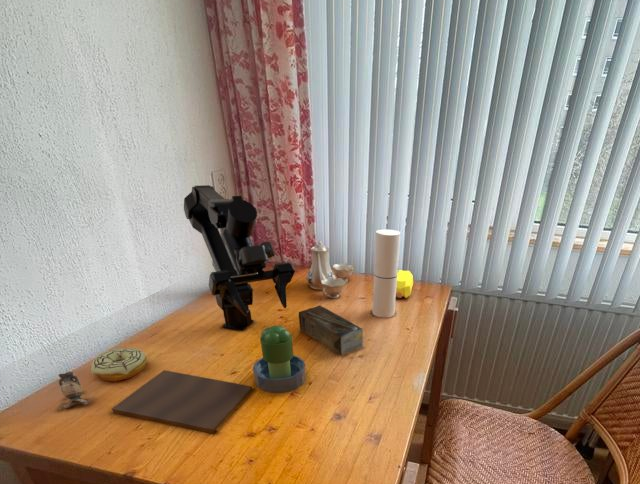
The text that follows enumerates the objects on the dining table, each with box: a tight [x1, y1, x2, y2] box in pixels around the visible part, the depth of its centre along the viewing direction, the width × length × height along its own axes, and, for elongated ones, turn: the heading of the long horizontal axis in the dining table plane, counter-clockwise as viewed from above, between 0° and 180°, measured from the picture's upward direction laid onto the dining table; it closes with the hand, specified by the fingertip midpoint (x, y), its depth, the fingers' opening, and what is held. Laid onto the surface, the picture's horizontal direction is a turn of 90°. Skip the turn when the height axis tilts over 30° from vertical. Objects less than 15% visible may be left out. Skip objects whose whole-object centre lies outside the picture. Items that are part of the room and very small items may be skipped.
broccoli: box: [260, 325, 294, 379], centre depth 85 cm, size 7×7×13 cm
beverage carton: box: [298, 305, 364, 355], centre depth 105 cm, size 8×19×7 cm, turn 45°
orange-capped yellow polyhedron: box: [396, 269, 414, 299], centre depth 139 cm, size 18×7×8 cm
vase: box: [58, 371, 90, 411], centre depth 77 cm, size 5×5×6 cm
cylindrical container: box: [371, 228, 402, 319], centre depth 117 cm, size 7×7×25 cm
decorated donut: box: [90, 347, 148, 383], centre depth 87 cm, size 10×11×4 cm
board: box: [111, 369, 254, 435], centre depth 80 cm, size 22×15×1 cm
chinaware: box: [305, 240, 355, 299], centre depth 137 cm, size 28×17×17 cm, turn 179°
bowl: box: [252, 354, 307, 394], centre depth 88 cm, size 11×11×4 cm
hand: (266, 311), depth 87 cm, fingers open, 9 cm apart
